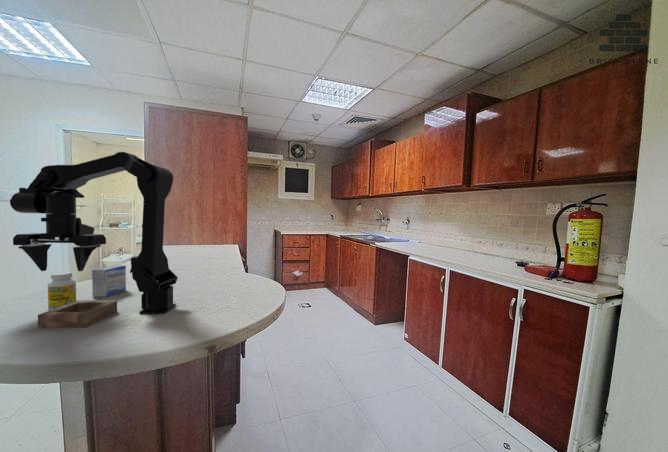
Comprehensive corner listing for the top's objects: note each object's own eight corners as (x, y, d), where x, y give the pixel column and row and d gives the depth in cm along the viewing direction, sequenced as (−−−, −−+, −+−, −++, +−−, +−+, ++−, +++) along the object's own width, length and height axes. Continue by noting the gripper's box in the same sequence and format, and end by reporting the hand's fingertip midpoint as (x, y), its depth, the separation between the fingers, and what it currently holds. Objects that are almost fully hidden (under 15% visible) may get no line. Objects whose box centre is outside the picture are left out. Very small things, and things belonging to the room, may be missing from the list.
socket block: (117, 311, 70) (117, 300, 70) (85, 327, 60) (85, 314, 60) (76, 311, 69) (76, 300, 69) (38, 327, 59) (37, 314, 59)
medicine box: (105, 297, 81) (105, 270, 81) (91, 297, 81) (91, 269, 81) (126, 290, 89) (126, 265, 88) (113, 289, 89) (113, 264, 88)
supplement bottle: (78, 303, 75) (78, 270, 75) (73, 309, 71) (72, 274, 70) (51, 306, 72) (51, 272, 72) (44, 312, 68) (44, 276, 68)
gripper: (119, 214, 80) (120, 265, 80) (52, 213, 78) (53, 265, 78) (89, 215, 68) (90, 273, 69) (9, 213, 66) (11, 273, 67)
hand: (62, 270), depth 71 cm, fingers open, 9 cm apart
